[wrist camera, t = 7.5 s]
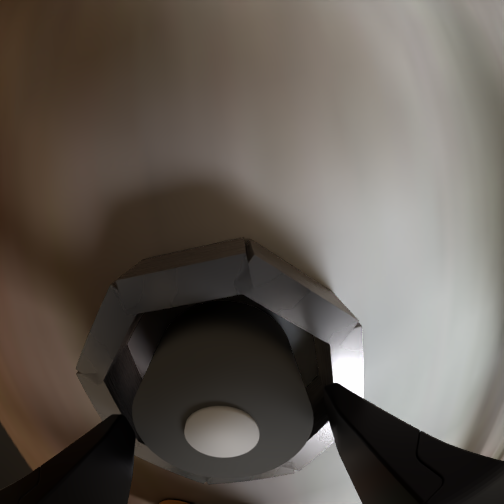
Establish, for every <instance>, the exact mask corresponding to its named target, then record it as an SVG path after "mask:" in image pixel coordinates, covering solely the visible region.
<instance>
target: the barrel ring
mask: <svg viewBox="0 0 504 504" xmlns="http://www.w3.org/2000/svg"><path fill="white" fill-rule="evenodd" d="M239 294H243V295H245V296H247V297H248V298H250V299H252V300H253V301H255V302H257V303H258V304H260V305H262V306H263V307H265V308H267V309H269V310H270V311H272V312H274V313H275V314H277V315H279V316H281V317H282V318H284V319H286V320H288V321H289V322H291V323H293V324H294V325H296V326H298V327H300V328H301V329H303V330H305V331H307V332H309V333H310V334H312V335H314V342H315V350H316V358H317V366H318V374H319V375H318V376H317V377H316V378H315V379H314V380H313V381H312V383H311V384H310V385H309V386H308V387H307V388H306V392H307V395H308V398H309V401H310V404H311V407H312V411H313V428H312V432H311V434H310V437H309V439H308V441H307V442H306V444H305V445H304V447H303V448H302V449H301V450H300V451H299V452H298V453H297V454H296V455H295V456H294V457H293V458H292V459H290V460H289V461H288V462H286V463H284V464H283V465H281V466H279V467H277V468H275V469H273V470H270V471H268V472H265V473H262V474H258V475H254V476H249V477H243V478H212V477H206V476H201V475H197V474H193V473H190V472H187V471H184V470H181V469H179V468H177V467H175V466H173V465H171V464H169V463H167V462H165V461H164V460H163V459H161V458H160V457H158V456H157V455H156V454H155V453H153V452H152V451H151V450H150V449H149V448H148V447H147V446H146V445H145V443H144V442H143V441H142V439H141V438H140V436H139V434H138V432H137V431H136V428H135V425H134V422H133V417H132V405H133V401H134V398H135V395H136V393H137V391H138V389H139V386H140V384H141V382H142V379H141V377H140V374H139V372H138V370H137V368H136V365H135V363H134V361H133V358H132V356H131V353H130V351H129V349H128V346H127V343H128V341H129V340H130V338H131V336H132V334H133V332H134V330H135V328H136V326H137V324H138V322H139V321H140V319H141V317H142V315H143V313H144V312H150V311H156V310H161V309H167V308H172V307H178V306H183V305H188V304H194V303H199V302H204V301H209V300H214V299H219V298H224V297H229V296H234V295H239ZM76 370H78V372H77V373H76V375H77V377H78V379H79V380H80V382H81V384H82V386H83V388H84V390H85V392H86V394H87V395H88V397H89V399H90V401H91V402H92V404H93V406H94V408H95V409H96V411H97V413H98V414H99V416H100V418H101V419H102V421H103V420H105V419H106V418H107V417H109V416H110V415H112V414H123V415H124V416H125V417H126V418H127V420H128V422H129V423H130V425H131V427H132V428H133V430H134V432H135V436H136V440H135V451H134V455H135V456H137V457H139V458H141V459H143V460H145V461H148V462H150V463H152V464H154V465H156V466H159V467H161V468H163V469H166V470H168V471H171V472H173V473H176V474H178V475H181V476H183V477H186V478H189V479H191V480H194V481H197V482H200V483H203V484H204V483H205V482H206V481H207V483H208V484H221V483H233V482H242V481H250V480H258V479H264V478H271V477H277V476H282V475H287V474H292V473H295V472H294V470H297V471H300V470H301V469H303V468H304V467H305V466H306V465H308V464H309V463H310V462H311V461H312V460H314V459H315V458H316V457H317V456H318V455H320V454H321V453H322V452H323V451H324V450H325V449H327V448H328V447H329V446H330V445H331V444H332V443H333V442H334V441H335V440H334V437H333V433H332V430H331V427H330V423H329V420H328V417H327V414H326V410H325V403H324V393H323V387H324V386H325V385H328V384H332V383H339V384H340V385H342V386H344V387H345V388H347V389H349V390H350V391H352V392H354V393H355V394H357V395H359V396H360V397H362V398H364V365H363V337H362V326H361V325H360V323H359V320H358V319H357V318H356V317H355V316H354V315H353V314H352V313H351V312H350V310H349V309H348V308H347V307H346V306H345V305H344V304H343V303H342V302H341V301H340V300H339V298H338V297H337V296H336V295H335V294H334V293H333V292H332V291H330V290H329V289H327V288H326V287H324V286H322V285H321V284H319V283H318V282H316V281H315V280H313V279H312V278H310V277H309V276H307V275H306V274H304V273H302V272H301V271H299V270H298V269H296V268H295V267H293V266H292V265H290V264H289V263H287V262H285V261H284V260H282V259H281V258H279V257H278V256H276V255H275V254H273V253H272V252H270V251H268V250H267V249H265V248H264V247H262V246H261V245H259V244H258V243H256V242H254V241H253V240H251V239H249V241H248V242H247V244H246V245H245V242H244V237H243V238H239V239H234V240H229V241H225V242H220V243H215V244H211V245H206V246H202V247H197V248H193V249H188V250H184V251H179V252H175V253H170V254H166V255H161V256H157V257H152V258H148V259H143V260H142V261H141V262H139V263H138V264H137V265H135V266H134V267H133V268H131V269H130V270H129V271H127V272H126V273H125V274H124V275H122V276H121V277H120V278H118V279H117V280H116V281H115V282H113V283H112V284H111V285H110V287H109V289H108V291H107V293H106V296H105V298H104V300H103V302H102V304H101V307H100V309H99V311H98V314H97V316H96V318H95V321H94V323H93V325H92V328H91V330H90V333H89V335H88V337H87V340H86V342H85V345H84V348H83V350H82V353H81V355H80V358H79V361H78V363H77V366H76Z"/></svg>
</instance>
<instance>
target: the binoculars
mask: <svg viewBox="0 0 504 504" xmlns="http://www.w3.org/2000/svg"><path fill="white" fill-rule="evenodd" d="M159 504H188V503H186V502H182V501H178V500H165V501H162V502H160V503H159Z"/></svg>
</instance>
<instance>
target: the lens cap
mask: <svg viewBox="0 0 504 504" xmlns="http://www.w3.org/2000/svg"><path fill="white" fill-rule="evenodd" d="M132 417H133V422H134V425H135V428H136V431H137V432H138V434H139V436H140V438H141V439H142V441H143V442H144V443H145V445H146V446H147V447H148V448H149V449H150V450H151V451H152V452H153V453H155V454H156V455H157V456H158V457H160V458H161V459H163V460H164V461H165V462H167V463H169V464H171V465H173V466H175V467H177V468H179V469H181V470H184V471H187V472H190V473H193V474H197V475H201V476H206V477H212V478H243V477H249V476H254V475H258V474H262V473H265V472H268V471H270V470H273V469H275V468H277V467H279V466H281V465H283V464H284V463H286V462H288V461H289V460H290V459H292V458H293V457H294V456H295V455H296V454H297V453H298V452H299V451H300V450H301V449H302V448H303V447H304V445H305V444H306V442H307V441H308V439H309V437H310V434H311V432H312V428H313V411H312V407H311V404H310V401H309V398H308V395H307V392H306V389H305V386H304V384H303V381H302V378H301V375H300V372H299V369H298V366H297V363H296V361H295V358H294V355H293V352H292V349H291V346H290V343H289V341H288V338H287V336H286V334H285V332H284V331H283V329H282V328H281V326H280V325H279V324H278V323H277V322H276V321H275V320H274V319H273V318H272V317H271V316H269V315H268V314H266V313H265V312H263V311H262V310H260V309H258V308H256V307H254V306H251V305H248V304H245V303H241V302H236V301H227V300H224V301H210V302H205V303H201V304H198V305H196V306H193V307H191V308H189V309H187V310H185V311H184V312H182V313H181V314H180V315H178V316H177V317H176V318H175V319H174V320H173V321H172V322H171V323H170V325H169V326H168V327H167V329H166V331H165V333H164V335H163V337H162V339H161V341H160V343H159V345H158V347H157V350H156V352H155V354H154V356H153V358H152V360H151V362H150V365H149V367H148V369H147V371H146V373H145V375H144V378H143V380H142V382H141V384H140V386H139V389H138V391H137V393H136V395H135V398H134V401H133V405H132Z"/></svg>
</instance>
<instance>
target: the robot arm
mask: <svg viewBox="0 0 504 504" xmlns="http://www.w3.org/2000/svg"><path fill="white" fill-rule="evenodd" d="M323 393H324V403H325V410H326V414H327V417H328V420H329V423H330V427H331V430H332V433H333V437H334V440H335V443H336V446H337V449H338V452H339V455H340V457H341V459H342V461H343V463H344V466H345V468H346V470H347V472H348V474H349V476H350V478H351V480H352V483H353V485H354V487H355V489H356V491H357V493H358V495H359V497H360V499H361V502H362V504H504V461H501V460H497V459H493V458H490V457H486V456H483V455H480V454H476V453H473V452H470V451H467V450H464V449H461V448H458V447H455V446H453V445H450V444H447V443H445V442H443V441H441V440H439V439H436V438H434V437H432V436H430V435H428V434H426V433H425V432H423V431H420V430H419V429H417V428H415V427H413V426H411V425H409V424H408V423H406V422H404V421H402V420H400V419H398V418H397V417H395V416H393V415H391V414H390V413H388V412H386V411H384V410H382V409H381V408H379V407H377V406H376V405H374V404H372V403H370V402H369V401H367V400H365V399H364V398H362V397H360V396H359V395H357V394H355V393H354V392H352V391H350V390H349V389H347V388H345V387H344V386H342V385H340V384H339V383H332V384H328V385H325V386H324V387H323ZM135 440H136V436H135V432H134V430H133V428H132V427H131V425H130V423H129V422H128V420H127V418H126V417H125V416H124V415H123V414H112V415H110V416H109V417H107V418H106V419H105V420H103V421H102V422H101V423H99V424H98V425H97V426H95V427H94V428H93V429H91V430H90V431H89V432H87V433H86V434H85V435H83V436H82V437H81V438H79V439H78V440H76V441H75V442H74V443H72V444H71V445H70V446H68V447H67V448H65V449H64V450H63V451H61V452H60V453H58V454H57V455H56V456H54V457H53V458H51V459H50V460H48V461H47V462H46V463H44V464H43V465H41V467H38V468H37V469H35V470H34V471H33V472H31V473H30V474H28V475H26V476H25V477H24V478H22V479H20V480H18V481H16V482H15V483H13V484H11V485H9V486H7V487H5V488H3V489H1V490H0V504H127V503H128V497H129V492H130V486H131V481H132V475H133V463H134V451H135Z"/></svg>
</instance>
